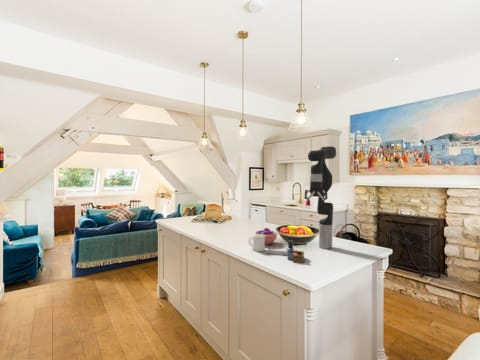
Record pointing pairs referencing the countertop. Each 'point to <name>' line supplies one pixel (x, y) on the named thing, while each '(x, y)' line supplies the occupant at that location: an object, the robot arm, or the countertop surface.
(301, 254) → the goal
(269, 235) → the cell model
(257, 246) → the mug
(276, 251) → the rail
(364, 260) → the countertop surface
